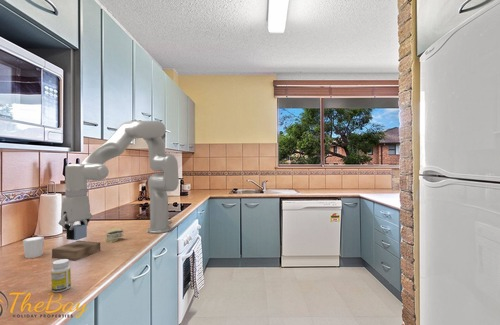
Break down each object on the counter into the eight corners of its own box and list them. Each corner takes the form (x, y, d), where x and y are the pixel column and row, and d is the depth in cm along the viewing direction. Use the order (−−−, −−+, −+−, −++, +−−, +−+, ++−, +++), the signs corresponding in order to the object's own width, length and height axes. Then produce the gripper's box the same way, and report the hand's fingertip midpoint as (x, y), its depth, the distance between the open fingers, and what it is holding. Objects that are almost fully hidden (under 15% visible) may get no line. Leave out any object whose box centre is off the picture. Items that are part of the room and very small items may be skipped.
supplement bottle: (62, 284, 84) (62, 257, 84) (74, 286, 83) (74, 259, 83) (47, 291, 80) (47, 263, 80) (59, 293, 78) (59, 264, 78)
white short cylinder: (27, 253, 113) (26, 237, 113) (46, 251, 115) (46, 235, 115) (19, 259, 106) (19, 241, 106) (40, 257, 109) (40, 239, 109)
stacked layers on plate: (112, 245, 125) (112, 233, 125) (99, 243, 128) (99, 231, 128) (130, 239, 134) (130, 228, 134) (116, 237, 137) (116, 226, 137)
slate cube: (77, 236, 115) (77, 224, 115) (86, 237, 113) (86, 225, 113) (66, 239, 110) (66, 227, 110) (75, 240, 109) (75, 227, 109)
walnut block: (78, 249, 119) (78, 240, 119) (100, 251, 116) (100, 242, 116) (52, 259, 108) (51, 249, 108) (75, 261, 104) (75, 251, 104)
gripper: (87, 191, 121) (87, 231, 121) (49, 195, 105) (49, 242, 105) (100, 191, 119) (100, 232, 119) (63, 196, 102) (64, 244, 102)
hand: (76, 236), depth 112 cm, fingers closed on slate cube, 5 cm apart
